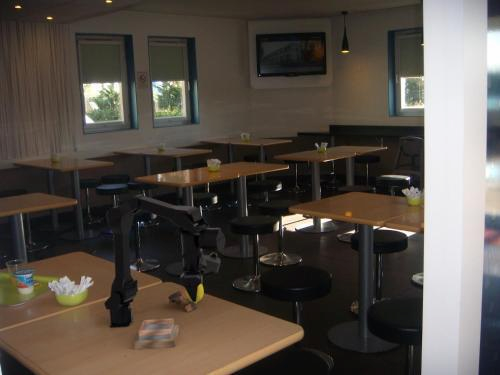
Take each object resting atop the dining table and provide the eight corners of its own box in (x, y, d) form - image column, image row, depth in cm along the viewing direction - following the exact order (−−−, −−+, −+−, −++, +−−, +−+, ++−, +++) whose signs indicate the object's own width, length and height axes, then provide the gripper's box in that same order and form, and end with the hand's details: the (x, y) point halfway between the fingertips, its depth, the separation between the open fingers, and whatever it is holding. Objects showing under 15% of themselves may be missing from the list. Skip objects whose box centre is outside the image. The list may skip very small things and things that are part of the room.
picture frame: (134, 349, 168) (133, 334, 167) (141, 333, 180) (139, 318, 179) (175, 346, 168) (173, 331, 168) (179, 330, 180) (178, 316, 179)
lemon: (201, 306, 173) (199, 281, 171) (184, 306, 174) (182, 281, 173) (206, 300, 178) (204, 275, 177) (189, 300, 179) (187, 275, 178)
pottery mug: (181, 316, 193) (170, 295, 194) (173, 320, 201) (162, 300, 202) (210, 299, 200) (198, 279, 201) (201, 304, 208) (190, 284, 209)
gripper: (217, 255, 164) (220, 307, 166) (219, 240, 183) (222, 287, 185) (178, 257, 164) (182, 309, 166) (184, 242, 182) (187, 288, 185)
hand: (195, 298), depth 176 cm, fingers closed on lemon, 5 cm apart
